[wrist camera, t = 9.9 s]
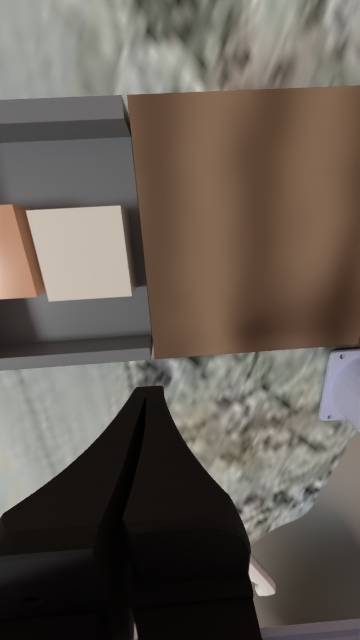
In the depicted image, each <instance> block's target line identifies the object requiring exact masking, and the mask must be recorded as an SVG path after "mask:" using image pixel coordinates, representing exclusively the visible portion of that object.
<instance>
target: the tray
mask: <svg viewBox="0 0 360 640" xmlns="http://www.w3.org/2000/svg"><path fill="white" fill-rule="evenodd" d="M9 204H13V205H18V206H22V207H27V208H32V209H36V210H44V209H63V208H82V207H100V206H119V205H120V206H122V207H123V208H125V209H126V210H128V211H129V220H130V228H131V237H132V245H133V254H134V262H135V271H136V279H137V289H136V290H135V292H134V294H133V295H132V296H127V297H112V298H96V299H81V300H65V301H50V302H49V300H48V296H47V293H45V294H43V295H41V296H38V297H30V298H14V299H0V371H2V370H16V369H29V368H43V367H56V366H70V365H83V364H97V363H110V362H124V361H137V360H151V355H152V348H153V337H152V328H151V318H150V308H149V299H148V289H147V280H146V270H145V261H144V251H143V241H142V232H141V222H140V213H139V203H138V193H137V184H136V174H135V165H134V155H133V146H132V136H131V126H130V120H129V117H128V114H127V110H126V107H125V104H124V101H123V98H122V95H115V96H90V97H65V98H40V99H15V100H0V205H9Z"/></svg>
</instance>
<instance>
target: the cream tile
mask: <svg viewBox="0 0 360 640" xmlns="http://www.w3.org/2000/svg"><path fill="white" fill-rule="evenodd" d="M26 214H27V218H28V222H29V226H30V229H31V233H32V237H33V241H34V245H35V249H36V253H37V257H38V261H39V265H40V269H41V273H42V277H43V281H44V284H45V288H46V292H47V296H48V300H49V302H50V301H65V300H81V299H96V298H112V297H127V296H132V295H133V294H134V292H135V290H136V289H137V279H136V271H135V262H134V254H133V245H132V237H131V228H130V220H129V211H128V210H126V209H125V208H123V207H122V206H120V205H119V206H100V207H82V208H63V209H44V210H26Z"/></svg>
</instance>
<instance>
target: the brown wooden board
mask: <svg viewBox="0 0 360 640" xmlns="http://www.w3.org/2000/svg"><path fill="white" fill-rule="evenodd" d="M127 98H128V107H129V117H130V126H131V136H132V146H133V155H134V165H135V174H136V184H137V193H138V203H139V213H140V222H141V232H142V241H143V251H144V261H145V270H146V280H147V289H148V299H149V308H150V318H151V328H152V337H153V347H154V356H155V359H164V358H178V357H191V356H205V355H218V354H232V353H245V352H259V351H272V350H286V349H299V348H313V347H326V346H340V345H353V344H358V341H359V336H360V86H338V87H313V88H288V89H264V90H239V91H214V92H189V93H164V94H139V95H127Z"/></svg>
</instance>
